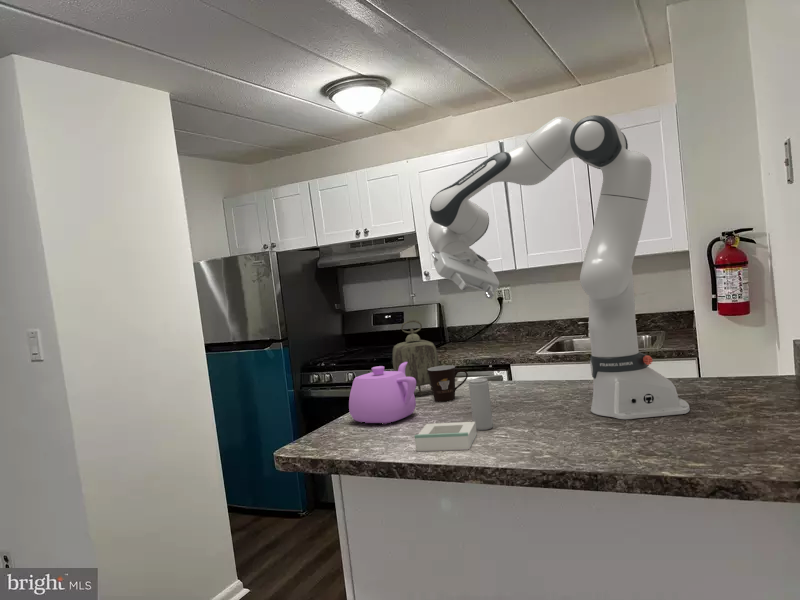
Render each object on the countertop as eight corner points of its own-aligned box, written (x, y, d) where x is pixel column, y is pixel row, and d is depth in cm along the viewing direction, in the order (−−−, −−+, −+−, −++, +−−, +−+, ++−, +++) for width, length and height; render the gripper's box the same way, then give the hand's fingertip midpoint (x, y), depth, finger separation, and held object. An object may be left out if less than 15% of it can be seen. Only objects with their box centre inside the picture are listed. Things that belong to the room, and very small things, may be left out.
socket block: (476, 434, 138) (475, 419, 138) (469, 449, 127) (467, 433, 127) (427, 436, 142) (426, 421, 142) (416, 451, 130) (414, 435, 130)
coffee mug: (427, 403, 179) (423, 371, 179) (436, 397, 187) (432, 366, 187) (463, 402, 175) (459, 369, 174) (471, 395, 182) (467, 364, 182)
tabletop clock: (438, 389, 199) (429, 317, 198) (443, 394, 190) (434, 318, 189) (396, 395, 197) (387, 322, 196) (399, 400, 188) (391, 323, 187)
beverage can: (492, 430, 140) (487, 381, 140) (473, 431, 141) (467, 382, 141) (493, 425, 145) (488, 377, 144) (474, 426, 146) (469, 378, 145)
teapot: (402, 429, 151) (395, 372, 150) (341, 425, 163) (335, 372, 163) (447, 408, 169) (441, 357, 169) (389, 406, 182) (384, 358, 181)
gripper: (436, 240, 153) (455, 273, 144) (491, 261, 165) (512, 293, 155) (423, 258, 156) (441, 291, 146) (477, 277, 167) (497, 309, 158)
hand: (478, 292), depth 151 cm, fingers open, 8 cm apart
